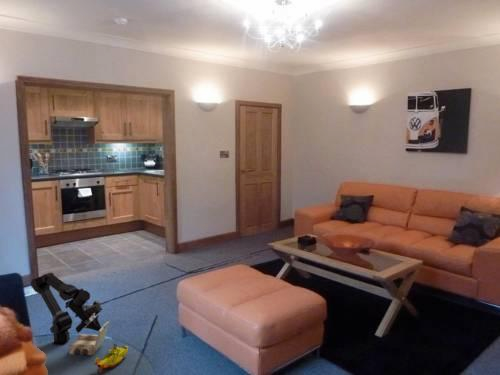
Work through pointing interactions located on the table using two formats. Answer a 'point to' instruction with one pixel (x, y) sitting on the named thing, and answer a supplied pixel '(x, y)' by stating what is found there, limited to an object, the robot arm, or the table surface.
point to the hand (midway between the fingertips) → (101, 330)
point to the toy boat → (112, 357)
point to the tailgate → (101, 335)
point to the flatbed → (84, 345)
